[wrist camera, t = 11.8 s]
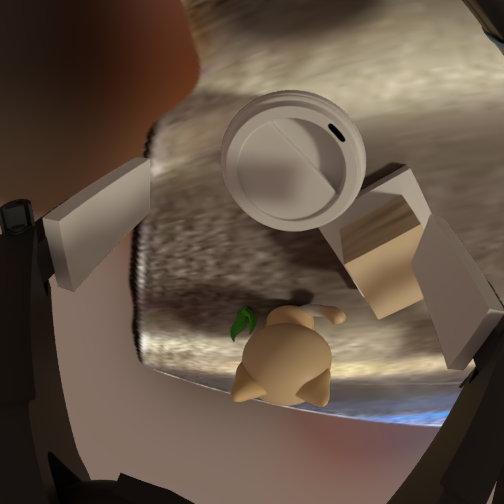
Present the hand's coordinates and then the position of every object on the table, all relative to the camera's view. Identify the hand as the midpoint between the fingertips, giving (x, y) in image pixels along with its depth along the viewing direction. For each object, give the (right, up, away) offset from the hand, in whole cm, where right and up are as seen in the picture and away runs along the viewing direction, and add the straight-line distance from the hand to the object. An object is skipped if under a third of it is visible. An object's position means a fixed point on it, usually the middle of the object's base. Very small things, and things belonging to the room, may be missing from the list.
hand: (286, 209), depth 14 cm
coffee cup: (+3, +11, +17) cm, 21 cm away
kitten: (+3, -11, +30) cm, 32 cm away
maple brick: (+14, -1, +20) cm, 24 cm away
